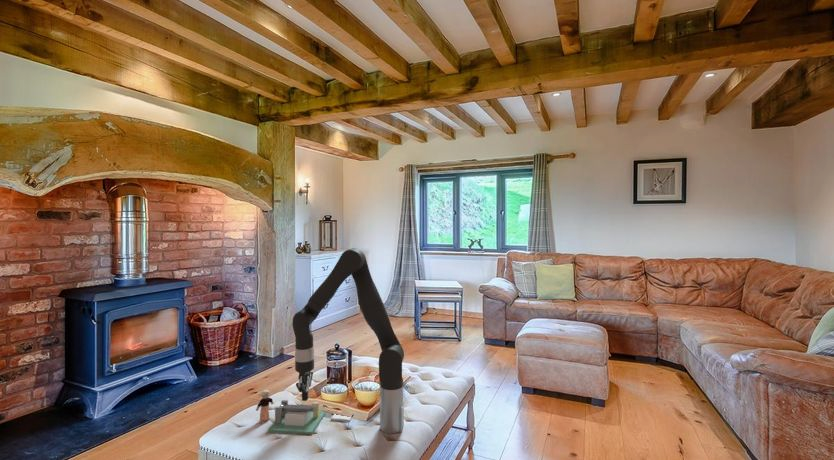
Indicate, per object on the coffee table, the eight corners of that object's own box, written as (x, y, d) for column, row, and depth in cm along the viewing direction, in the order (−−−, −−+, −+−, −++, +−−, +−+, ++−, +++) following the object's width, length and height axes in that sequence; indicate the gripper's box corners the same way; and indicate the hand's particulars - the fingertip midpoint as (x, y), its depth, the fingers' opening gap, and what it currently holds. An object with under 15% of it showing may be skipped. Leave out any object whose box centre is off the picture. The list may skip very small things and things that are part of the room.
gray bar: (317, 408, 160) (317, 403, 160) (313, 413, 156) (313, 408, 156) (281, 407, 162) (281, 402, 162) (277, 412, 158) (277, 406, 158)
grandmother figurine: (261, 425, 157) (261, 394, 157) (254, 423, 159) (254, 392, 159) (276, 416, 164) (275, 387, 164) (269, 414, 166) (269, 385, 165)
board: (325, 414, 166) (325, 396, 166) (312, 434, 150) (312, 415, 150) (285, 412, 168) (285, 395, 168) (267, 432, 152) (267, 413, 152)
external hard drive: (358, 409, 172) (349, 423, 160) (341, 407, 174) (330, 421, 161) (358, 405, 172) (349, 419, 160) (341, 404, 174) (330, 417, 161)
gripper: (307, 364, 151) (308, 408, 152) (319, 352, 165) (319, 393, 165) (289, 363, 152) (289, 407, 152) (301, 352, 165) (302, 392, 166)
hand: (305, 399), depth 159 cm, fingers closed
